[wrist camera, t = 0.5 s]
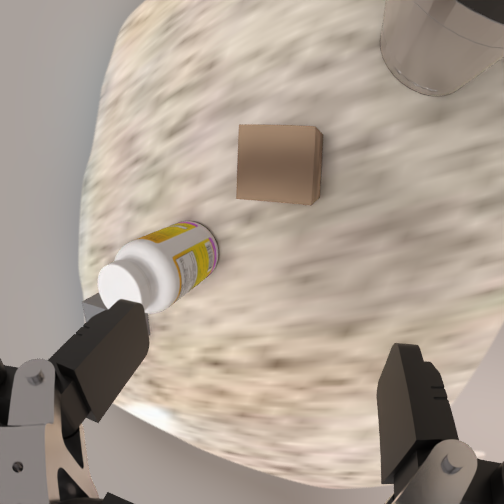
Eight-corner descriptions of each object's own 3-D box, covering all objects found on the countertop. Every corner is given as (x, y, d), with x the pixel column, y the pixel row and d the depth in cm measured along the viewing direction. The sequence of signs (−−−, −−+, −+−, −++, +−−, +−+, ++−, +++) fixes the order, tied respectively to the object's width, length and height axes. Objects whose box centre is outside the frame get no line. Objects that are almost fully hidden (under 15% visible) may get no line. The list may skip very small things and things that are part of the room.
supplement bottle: (157, 246, 36) (78, 283, 24) (191, 207, 34) (109, 232, 22) (195, 289, 36) (127, 344, 24) (233, 253, 33) (167, 302, 22)
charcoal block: (111, 285, 41) (82, 301, 35) (146, 293, 39) (116, 312, 33) (117, 323, 42) (90, 342, 37) (150, 334, 41) (124, 356, 35)
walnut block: (260, 131, 29) (239, 124, 24) (323, 134, 28) (315, 126, 22) (258, 192, 31) (236, 198, 25) (319, 197, 29) (311, 205, 24)
